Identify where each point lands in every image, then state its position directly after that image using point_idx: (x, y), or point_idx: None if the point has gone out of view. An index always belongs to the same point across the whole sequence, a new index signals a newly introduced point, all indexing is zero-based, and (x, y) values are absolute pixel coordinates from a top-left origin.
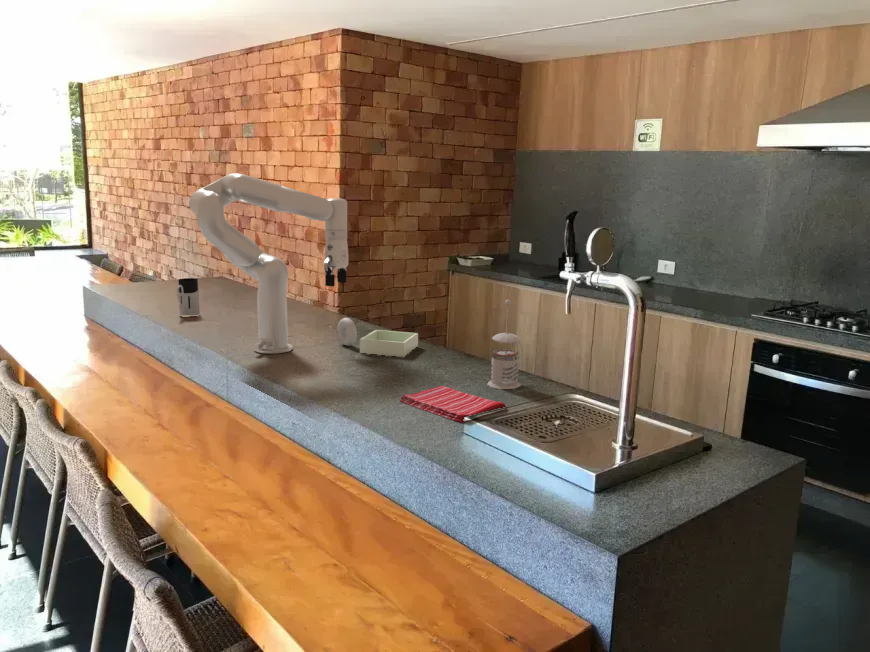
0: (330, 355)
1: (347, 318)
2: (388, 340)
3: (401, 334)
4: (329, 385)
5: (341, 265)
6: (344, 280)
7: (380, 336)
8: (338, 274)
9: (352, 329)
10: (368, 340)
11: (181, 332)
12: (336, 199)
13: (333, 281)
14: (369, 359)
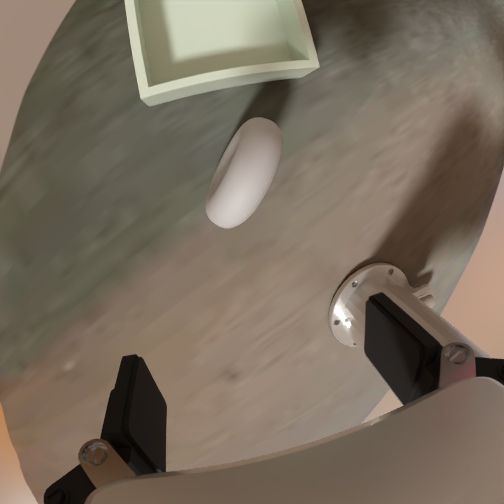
0: (359, 144)
1: (258, 170)
2: (146, 55)
3: (135, 6)
4: (490, 59)
5: (404, 439)
6: (140, 371)
7: (149, 79)
8: (162, 448)
9: (275, 125)
10: (311, 38)
11: None
12: None
13: (402, 312)
14: (339, 30)
